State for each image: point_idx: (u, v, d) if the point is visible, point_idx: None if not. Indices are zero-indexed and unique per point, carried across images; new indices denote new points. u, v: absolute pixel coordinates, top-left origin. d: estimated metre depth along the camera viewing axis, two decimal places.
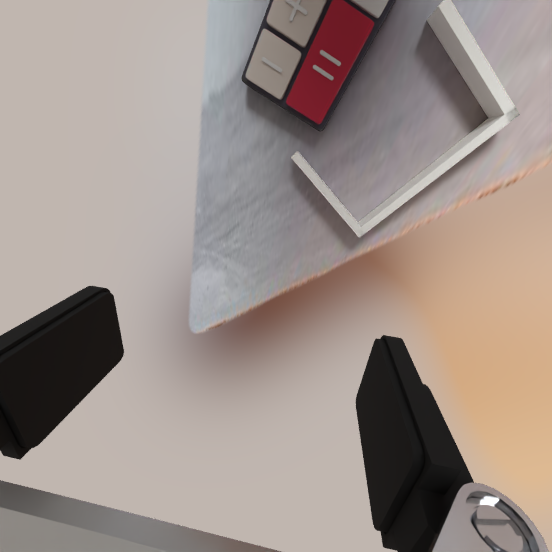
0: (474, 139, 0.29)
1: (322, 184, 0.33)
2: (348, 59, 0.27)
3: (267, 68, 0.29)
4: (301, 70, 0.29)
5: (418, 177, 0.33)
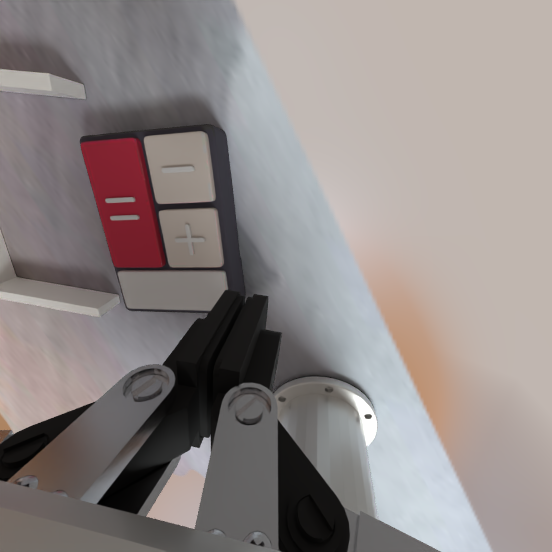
0: None
1: None
2: (109, 227, 0.22)
3: (181, 162, 0.19)
4: (143, 186, 0.20)
5: None
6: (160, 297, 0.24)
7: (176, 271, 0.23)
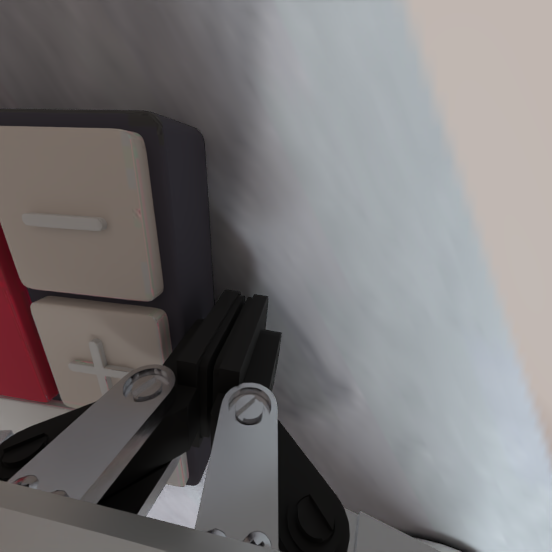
0: None
1: None
2: None
3: (72, 204, 0.07)
4: None
5: None
6: None
7: None
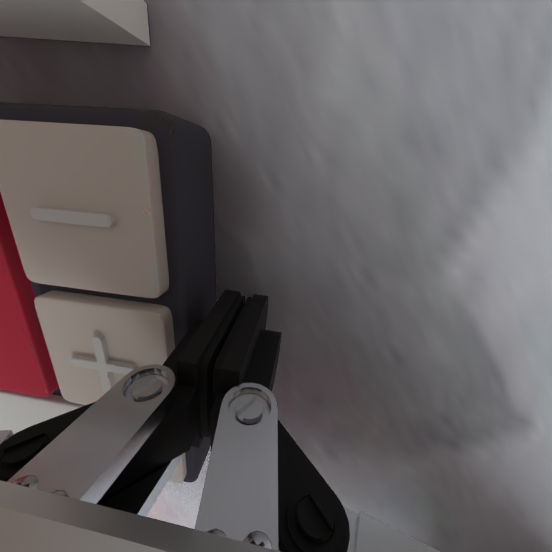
0: None
1: None
2: None
3: (82, 200, 0.07)
4: None
5: None
6: None
7: (80, 405, 0.11)
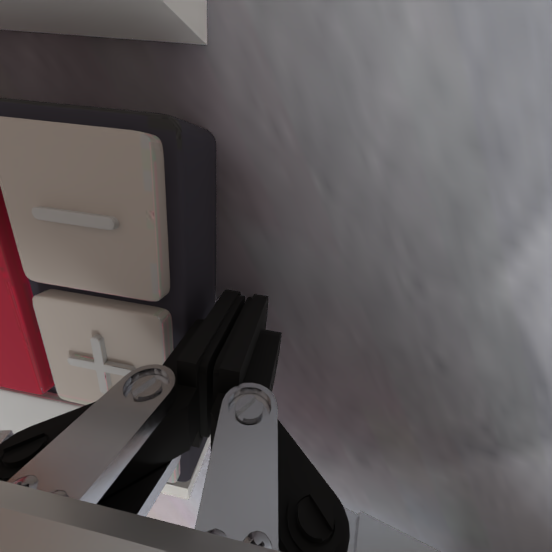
0: None
1: None
2: None
3: (85, 201, 0.07)
4: None
5: None
6: None
7: (75, 404, 0.11)
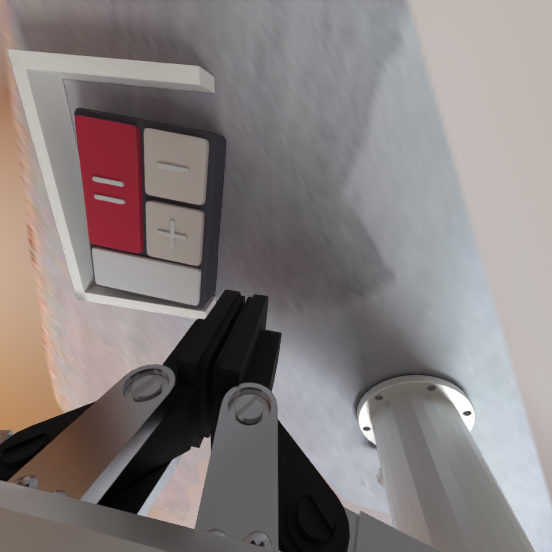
0: (75, 263, 0.25)
1: (126, 73, 0.18)
2: (91, 204, 0.22)
3: (178, 162, 0.20)
4: (135, 175, 0.20)
5: (76, 194, 0.24)
6: (132, 280, 0.24)
7: (153, 260, 0.23)
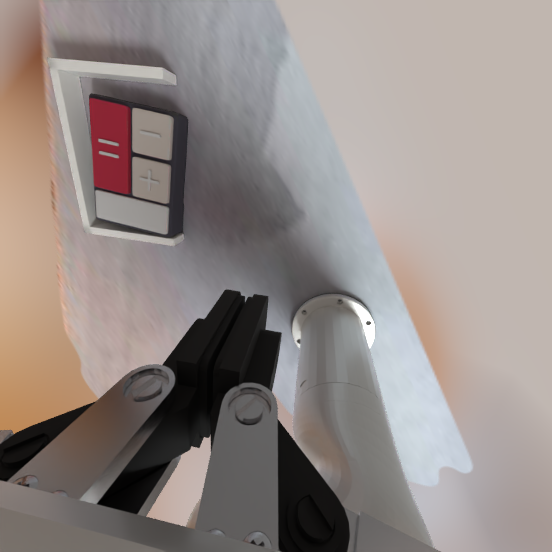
0: (84, 203, 0.36)
1: (119, 72, 0.29)
2: (96, 158, 0.33)
3: (153, 130, 0.31)
4: (126, 138, 0.31)
5: (86, 155, 0.35)
6: (122, 214, 0.35)
7: (136, 199, 0.34)
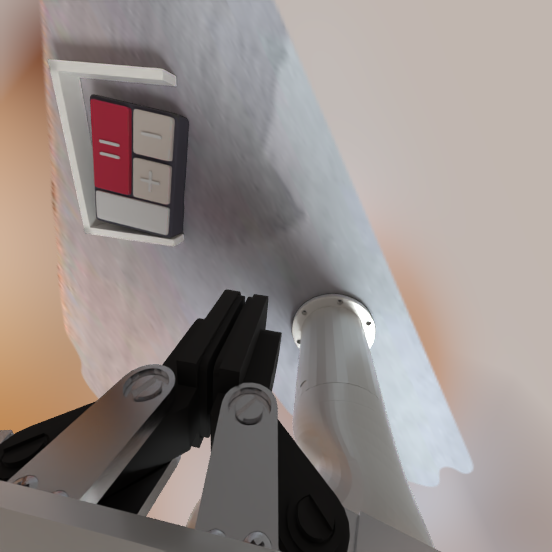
0: (84, 204, 0.36)
1: (119, 73, 0.29)
2: (97, 158, 0.33)
3: (154, 131, 0.31)
4: (127, 139, 0.31)
5: (86, 156, 0.35)
6: (122, 215, 0.35)
7: (137, 200, 0.34)
